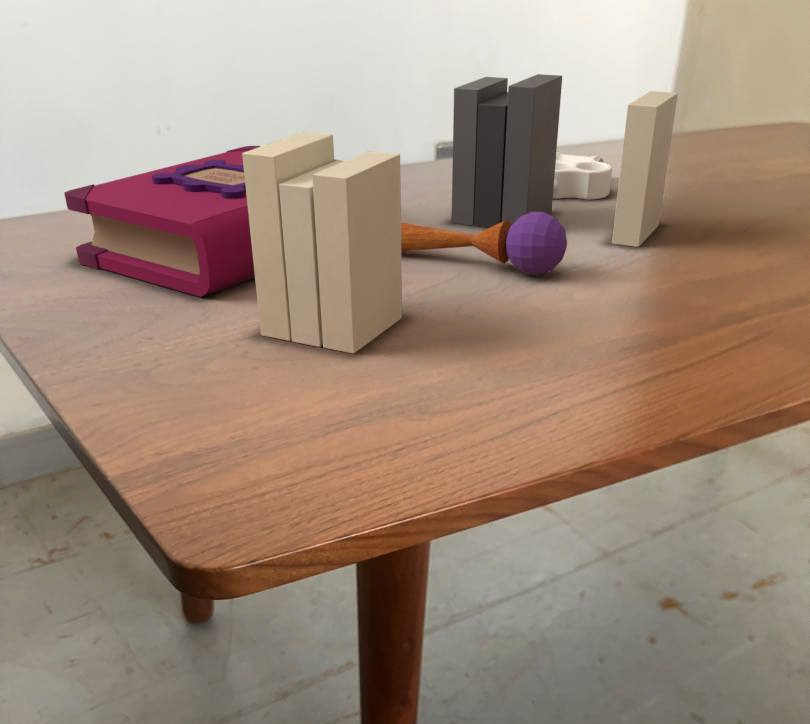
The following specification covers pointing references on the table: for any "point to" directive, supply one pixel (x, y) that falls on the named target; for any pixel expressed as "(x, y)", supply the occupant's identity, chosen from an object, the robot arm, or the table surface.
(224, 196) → the book
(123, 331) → the table surface
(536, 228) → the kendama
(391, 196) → the cream books
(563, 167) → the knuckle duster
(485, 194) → the grey books
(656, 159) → the cream book
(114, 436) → the table surface
